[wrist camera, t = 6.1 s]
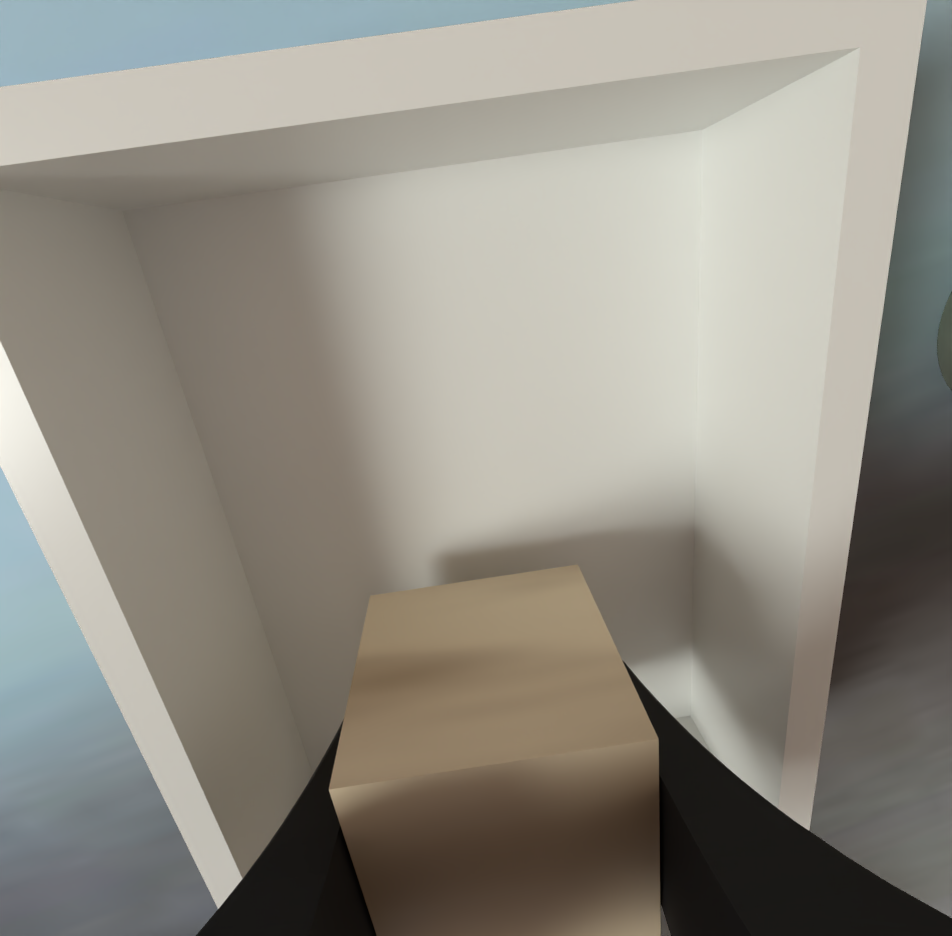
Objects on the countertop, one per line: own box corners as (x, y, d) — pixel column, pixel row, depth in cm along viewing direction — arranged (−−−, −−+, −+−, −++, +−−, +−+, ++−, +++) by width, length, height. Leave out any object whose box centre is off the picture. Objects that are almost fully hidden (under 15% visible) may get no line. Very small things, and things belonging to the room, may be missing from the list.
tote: (705, 715, 18) (802, 878, 13) (298, 778, 17) (246, 965, 13) (727, 88, 11) (931, -40, 7) (85, 176, 11) (-175, 110, 6)
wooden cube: (589, 722, 14) (660, 939, 10) (407, 749, 14) (391, 982, 10) (577, 564, 13) (658, 738, 8) (370, 595, 13) (328, 789, 8)
